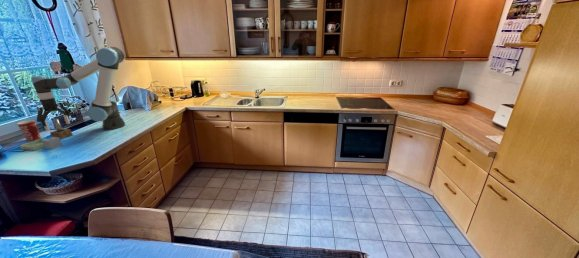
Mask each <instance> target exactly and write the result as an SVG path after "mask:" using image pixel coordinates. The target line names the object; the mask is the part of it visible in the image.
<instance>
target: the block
mask: <svg viewBox="0 0 579 258" xmlns="http://www.w3.org/2000/svg"><path fill="white" fill-rule="evenodd" d="M44 139H45V140H42V142H43V144H44V146H45V147H44V149H47V150H54V149H58V148H60V147H63V144H62V141H61V140H60V139H59V138H58V137H52V136H51V137H49V138H44Z"/></svg>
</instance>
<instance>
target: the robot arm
mask: <svg viewBox="0 0 579 258" xmlns="http://www.w3.org/2000/svg"><path fill="white" fill-rule="evenodd" d="M95 58H96V59H94V60H92V61H90V62H88V63H86V64H84V65H83V66H81V67H79V68H77V69H75V70H73V71H72V72H69V73H68V74H66V75H62V76H59V77H50V78H49V77H47V76H46V75H42V74H41V75H34V76H31V77H30V79H31V80H30V81H31V82H32V85H33V88H34V89H35V91H36V94H37V97H38V99H39V101H40V104H41V107H37V117H36V122H37V123H40V124H41V126H42V127H44V129H45V131H51V129H50V125H49V124H48V122H47V121H46V119H47V117H48V116H49V114H50V112H51V113H52V112H54V111H57V112H59V113H61V114H62V116H63V118H64V121H65V123H66V124H67V125H68V124H71V122H70V120H69V119H70V117H69V115H70V114H71V111H69V110H68V108H66V106H64V105H63V103H62V102H57V100H56V99H55V96H54V93H53V91H52V90H65V89H70V88H71V86H75V85H77V84H78V83H79V82H82V81H83V80H85V79H86V78H89V77H91V76H93V75H95V74H96V73H98V77H97V84H96V90H95V97H94V99H93V100H92V101H91V105H90V107H89V108H88V109H87V112H86V113H87V115H88V117H89V119H90V120H93V121H95V122H102V129H103V130H107V131H110V130H116V129H120V128H122V127H125V126H126V123H125V120H124V119H123V117H121V114H120V110H119V107H118V104H117V101H116V99H115V98H111V96H112V89H113V84H114V78H115V72H116V71H118V70H119V65H120V64H121V63H123V61H125V53H124V52H123V50H121V48H119V47H115V46H110V47H108V46H107V47H106V46H105V47H101V48H100V49H97V51H96V54H95Z"/></svg>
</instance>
